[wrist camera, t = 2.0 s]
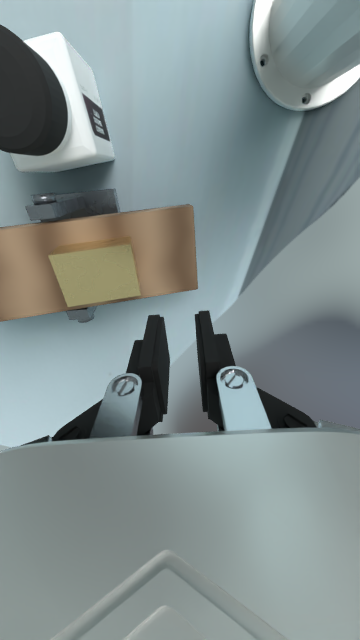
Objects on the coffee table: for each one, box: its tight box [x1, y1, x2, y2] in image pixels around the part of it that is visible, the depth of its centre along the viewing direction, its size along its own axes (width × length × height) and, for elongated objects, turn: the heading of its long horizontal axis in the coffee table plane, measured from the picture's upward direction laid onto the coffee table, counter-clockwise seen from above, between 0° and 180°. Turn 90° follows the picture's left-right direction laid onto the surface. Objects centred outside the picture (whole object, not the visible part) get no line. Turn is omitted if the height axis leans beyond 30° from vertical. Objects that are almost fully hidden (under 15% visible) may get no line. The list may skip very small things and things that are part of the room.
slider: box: [48, 236, 141, 307], centre depth 23 cm, size 7×5×4 cm
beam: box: [0, 204, 198, 321], centre depth 25 cm, size 28×9×2 cm, turn 94°
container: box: [0, 25, 115, 172], centre depth 21 cm, size 8×8×13 cm
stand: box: [25, 189, 120, 323], centre depth 29 cm, size 19×14×10 cm
